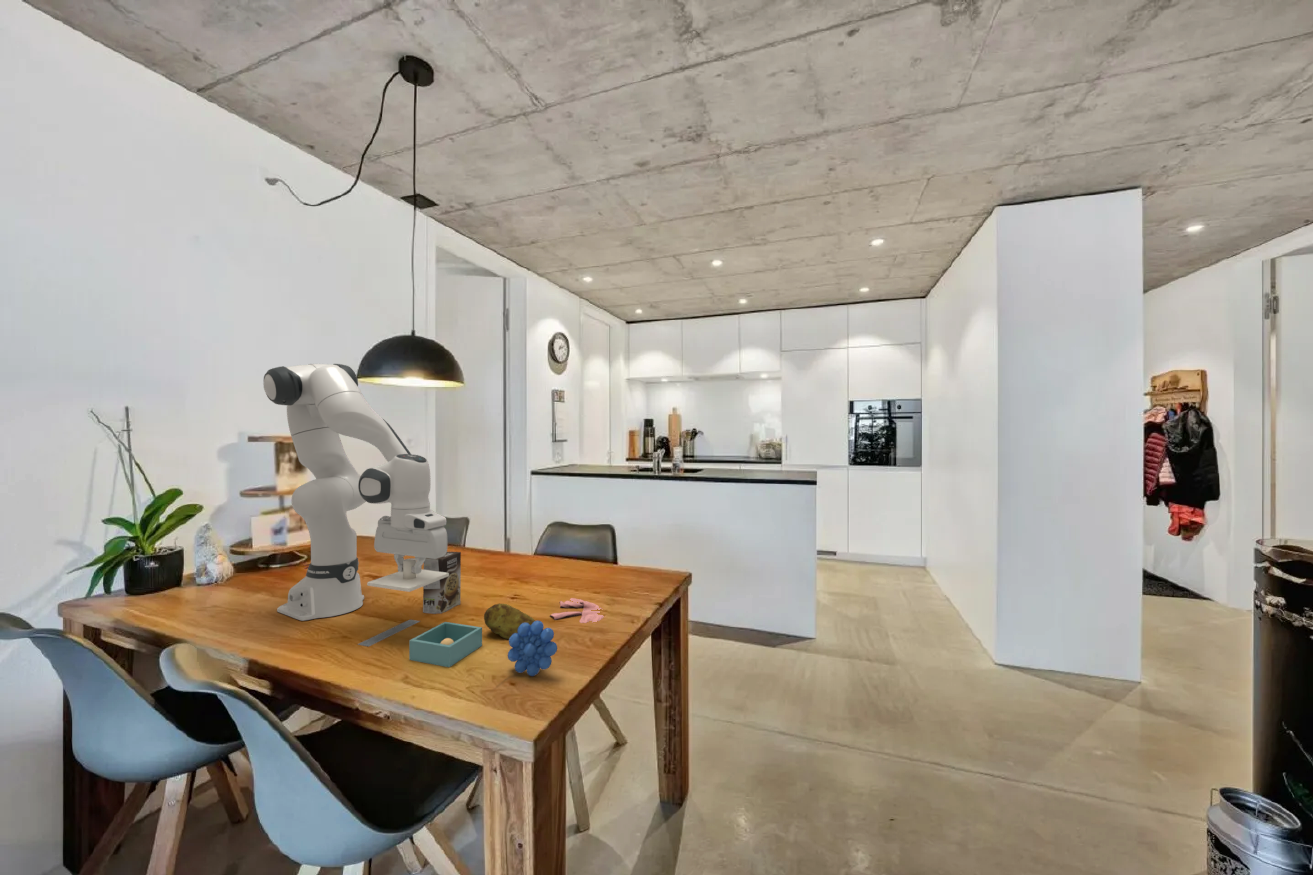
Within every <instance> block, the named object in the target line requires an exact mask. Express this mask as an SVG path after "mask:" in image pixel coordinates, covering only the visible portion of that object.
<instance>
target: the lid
mask: <svg viewBox="0 0 1313 875" xmlns="http://www.w3.org/2000/svg"><path fill="white" fill-rule="evenodd" d="M416 562H417V561H415V557H413V558H410V557H409V558H404V560H403V572H399V571H396V572H394V573H390V574H387V575H384V576H381V577H379V578H376V579H373V580H369V581H367V584H366V585H367V586H369V587H374V588H381V589H386V590H387V589H389V590H395V591H402V592H407V593H410V592H412V591H415V590H418V589H420V588H423V586H425V585H428V584H430V583H433V582H435V581H438V580H440V579H443V578H445V577H448V576H449V573H445V572H438V571H430V570H424V568H422V569H421V573H418V574H414V573H412V572H411V571H412V566H415V564H416Z"/></svg>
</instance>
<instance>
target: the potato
mask: <svg viewBox="0 0 1313 875" xmlns="http://www.w3.org/2000/svg"><path fill="white" fill-rule="evenodd" d="M483 615H484V616H483V619H484V620H483V621H484V625H486V627H487V628H488V629H489V630H490V631H491V632H493V633H494V634H497V635H498V636H500V637H501V638H503V639H506V640H509V638H510V637H511V635H512V634H514V633H518V631H517V630H518V627H519V626H520V625H521V624H522V623H528V624H530V626H531V624H532V623H533V622H534V621H536V620H535V619H534V618H533V617H532V616H530V615H528V614H526V613H525V612H522V611H521V610H520V609H518V608H516V607H513V606H512V605H509V604H508V603H497V604H494V605H492V606H490V607H489V608H487V609H486V610H485V612H484V614H483Z"/></svg>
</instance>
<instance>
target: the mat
mask: <svg viewBox="0 0 1313 875" xmlns="http://www.w3.org/2000/svg"><path fill="white" fill-rule="evenodd" d="M420 622H421V620H415V619H409V620H406V621H403V622H401V623H400V624H398V625H395V626H392V627H390V628H388V629H387V630H385V631H384V630H383V631H382V632H381V633H378V634H376V635H374V636H371V637H370V638H368V639H365V640H363V641H362V642H359V643H357V644H356V645H358V646H364V647H368V648H369V647H371V646H373V645H375V644H377V643H379V642H382V641H384V640H385V639H387V638H390V637H392V636H393V635H395V634H397V633H399V632H402V631H403V630H406V629H407V628H410V627H412V626H414V625H416V624H417V623H420Z"/></svg>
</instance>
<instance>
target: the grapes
mask: <svg viewBox="0 0 1313 875" xmlns="http://www.w3.org/2000/svg"><path fill="white" fill-rule="evenodd" d="M544 627H545V626H544V622H543V621H541V620H539V619H538V620H535V621H534V622H533V623H532V624H531V626H530V624H528V623H522V624H521V625H520V626H519V627H518V630H517V631H518V633H514V634H512V635H511V637H510V638H509V639H508V644H509V647H510V649H509V650H508V652H507V660H509V661H510V662H515V663H514V670H515V672H517V673H518V674H522V673H524V672H526V674H527V675H528V676H530V677H534V676H536V675H538V674H539V672H540V669H541V670H543V671H544V670H547V669H549V668H550V667H551V665H552V663H553V662H552V657H553V656H554V655H555V654H556V653H557V651H558V645H557V643H556V642H555V641H552V640H553V639H554V636H555V633H554V630H553V629H552V628H551V627H546V628H544Z"/></svg>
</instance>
